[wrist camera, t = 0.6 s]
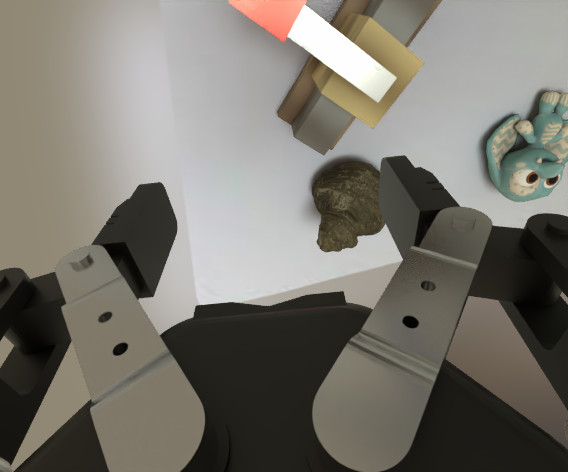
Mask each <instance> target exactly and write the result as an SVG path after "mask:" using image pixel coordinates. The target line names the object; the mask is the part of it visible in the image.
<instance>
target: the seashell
mask: <svg viewBox="0 0 568 472" xmlns="http://www.w3.org/2000/svg"><path fill="white" fill-rule="evenodd" d="M379 182H380V172H379V171H378V170H376V169H375V168H374V167H373V166H372V165H370V164H364V163H361V162H348V163H343V164H339V165H336V166H334V167H332V168H331V169H330V170H328V171H326V172H324V173H323V174H322V175H321V176H320V177H319V178H317V179H316V181H315V182H314V184H313V186H312V195H313V197H314V200H315V204H316V207H317V209H318V211H319V212H320V213H321V215H322V217H321V224H320V225H319V233H318V240H317V244H318V245H319V247H320V249H321V250H322V251H324V252H330V251H337V252H339V251H341V250H342V249H345V248H353V247H355V246H356V245H357V243H358V240H357V236H362V235H365V236H366V235H373V234H377V233H378V232H380V231H381V229H382V228H383V227H384V225H385V221H384V218H383V216H382V214H381V212H380V209H379V202H378V195H379Z"/></svg>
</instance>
